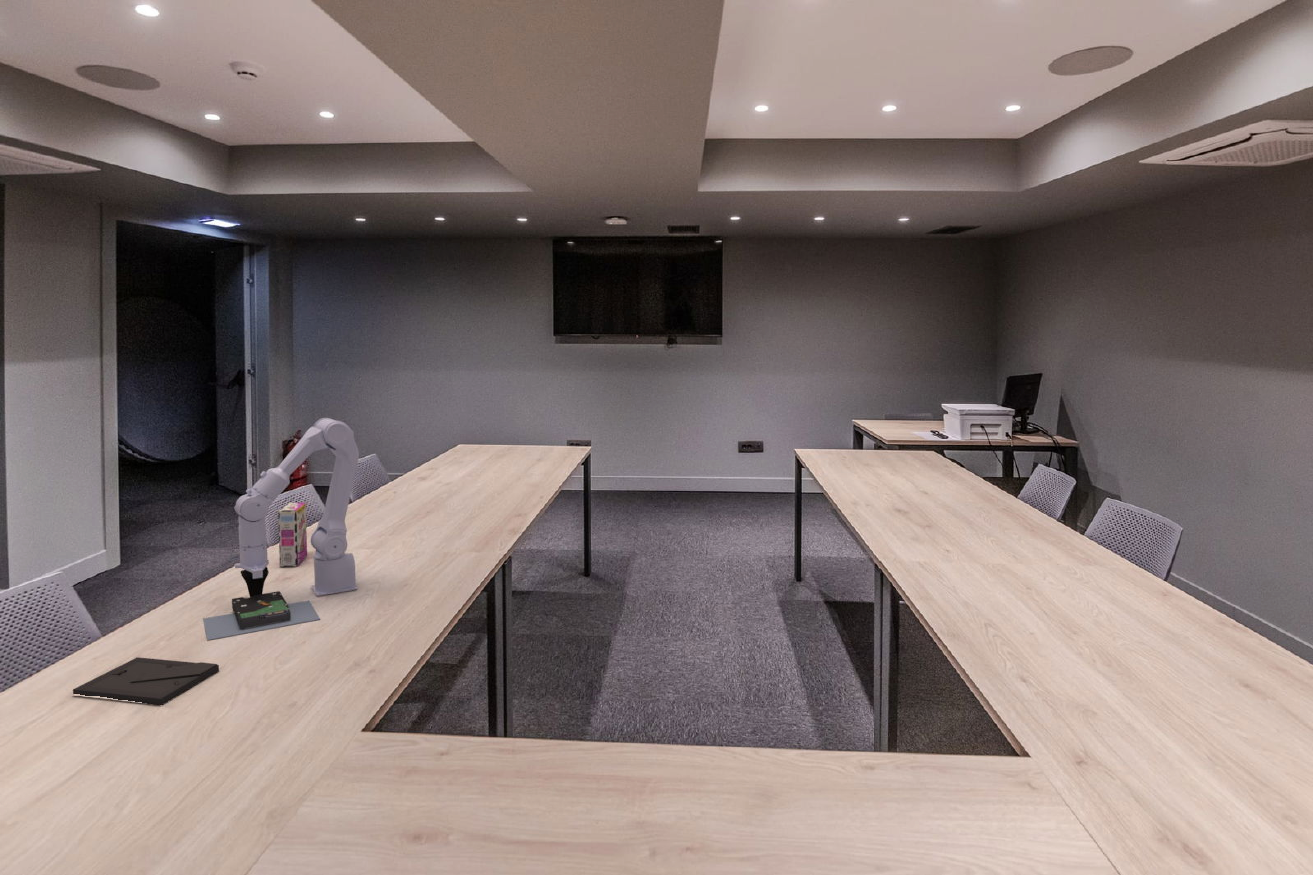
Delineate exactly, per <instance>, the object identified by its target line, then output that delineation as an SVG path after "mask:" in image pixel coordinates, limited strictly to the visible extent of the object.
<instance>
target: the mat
mask: <svg viewBox="0 0 1313 875" xmlns="http://www.w3.org/2000/svg"><path fill="white" fill-rule="evenodd" d="M287 605H288V606H289V610H290V612H291V619H289V620H287V621H281V622H276V623H270V624H265V625H260V626H254V627H249V628H240V627H239V625H238V622H237V619H236V617H235V614H234V612H232V613H228V614H227V613H226V614H222V615H221V614H220V615H215V616H211V617H205V618H203V623H204V624H203V625H204V630H205V635H206V642H207V641H214V640H219V639H224V638H230V637H234V636H235V637H236V636H240V635H246V634H251V633H256V632H261V631H266V630H272V629H278V628H284V627H288V626H294V625H298V624H300V625H301V624H304V623H305V624H306V623H309V622H310V623H311V622H315V621H320V620H321V617H320V616H319V614H318V613H317V611H316V609H315V608H314V606H313V604H312V603H311V601H310V600H304V601H298V602H291V603H287Z"/></svg>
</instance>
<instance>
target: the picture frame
mask: <svg viewBox="0 0 1313 875" xmlns="http://www.w3.org/2000/svg"><path fill="white" fill-rule="evenodd" d="M219 672H220V666H219V664H217V663H209V662H202V661H201V662H190V661H180V660H179V661H178V660H170V659H169V660H168V659H159V658H149V657H148V658H147V657H138V656H137V657H134V658H133V659H131V660H129V661H126V662H125V663H124V664H120V665H119V666H117V667H115V668H112V669H111V670H108V671H107V672H105V673H102V674H101V675H98V676H97V677H94V678H93V679H91V680H89V681H87V682H85V683H83V684H81V685H79V686H77V687H74V688H73V689H72V694H80V695H85V696H100V697H107V698H113V699H118V700H128V701H135V702H142V703H147V704H146V705H150V704H153V705H152V706H159V705H162V706H164V705H166V704H167V703H169V702H170V701H172V700H174V699H175V698H177V697H179V696H180V695H182V694H184V693H186V692H188V691H189V690H190V689H192V688H193V687H195V686H197V685H198V684H201V683H202V682H204V681H206V680H207V679H209V678H211V677H213V676H214V675H216V674H218V673H219ZM176 696H177V697H176ZM173 698H174V699H173ZM169 700H170V701H169ZM168 701H169V702H168Z"/></svg>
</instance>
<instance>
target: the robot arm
mask: <svg viewBox="0 0 1313 875" xmlns="http://www.w3.org/2000/svg"><path fill="white" fill-rule="evenodd" d="M354 435H355V432H354V430H352V428H350V426H348V425H347V423H345V422H343V421H341V420H334V418H333V419H332V418H330V417H323V418H320V419H318V420H317V421H315V423H314V424H313V426H311V427H309V428H308V429H307V430H306V432H305V433H304V434H303V436H302V437H301V439H299V441H297V443H296V445H294V447H293V448H292V450H290V451H289V453H288V454H287V455H286V457H285V458H284V459H283V460H282V461H281V463H280V464H279V465H278V466H277V467H273V468H269V469H267V471H265V470H263V471H262V472H261V473H260V474H259V477H260V478H259V479H258V480H257V481H256V482H255V484H253V486H252V487H251V488H248V487H247V489H246V490H245V493H246V494H243V495H241V496H239V498H238V499H237V500H236V502H235V505H234V506H233V508H234V512H236V514H237V515H238V530H237V531H238V545H239V548H238V549H239V562H237V563H234V569H242V570H241V571H240V575H241V577H242V579H243V580H244V583H246V587H247V591H248V595H249V597H251V596H253V595H258V594H263V591H264V585H265V582H266V580H267V577H268V576H269V573H270V572H269V569H268V565H270V562H269V561H270V560H269V559H268V541H267V540H268V539H267V524H266V516H267V515H268V513H269V511H270V509H269V508H270V505H272V504H273V502H275V500H277V498H278V497H279V496H280V495H281V493H283V491H284V490H285V489H286V488H287V487H288V486H289V485H290V483H291V482H290V477H291V475H292V474H293V473H294V472H295V471H296V470H297V468H298V467H300V465H302V463H304V462H305V461H306V460H307V458H309V456H311V454H312V453H314V452H316V451H320V450H326V449H329V450H330V451H331V452H332V453H333V455H334V456H335V462H334V465H333V466H334V467H333V470H332V475H331V480H330V484H329V489H328V493H327V497H326V502H325V506H324V511H323V515H322V517H321V519H320V520H319V521H317V522H318V523H317V527H316V528H315V529H314V531H313V533H311V535H310V545H311V546H312V547H313V549H315V552H314V555H313V566H314V567H313V568H314V570H313V571H314V585H310V588H311V589H312V591H313V593H314V594H315V596H316V597H321V596H326V595H327V596H328V595H332V594H338V593H343V592H351V591H355V590H357V580H356V561H355V557H354V555H353V553H351V552H347V553H346V551H347V549H348V540H347V530H348V529H347V526H346V525H347V524H346V521H345V520H346V516H347V513H348V508H349V503H350V498H351V494H352V490H353V485H354V480H355V475H356V471H357V466H358V463H359V458H360V451H359V448H358V446H357V442H356V439H355V436H354Z"/></svg>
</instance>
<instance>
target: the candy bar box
mask: <svg viewBox="0 0 1313 875" xmlns="http://www.w3.org/2000/svg"><path fill="white" fill-rule="evenodd" d="M277 514H278V516H277V517H278V518H277V519H278V520H277V521H278V547H279V551H278V552H279V568H297V567H298V566H299V565H300V564H301V563H302V562H303V561H304V560H305V558H306V557H307V556H308V544H307V543H308V542H307V540H308V537H307V534H308V533H307V503H306V502H289V503H287V504H286V505H284V506H283V507H282V508H280V509H279V510H277Z"/></svg>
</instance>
